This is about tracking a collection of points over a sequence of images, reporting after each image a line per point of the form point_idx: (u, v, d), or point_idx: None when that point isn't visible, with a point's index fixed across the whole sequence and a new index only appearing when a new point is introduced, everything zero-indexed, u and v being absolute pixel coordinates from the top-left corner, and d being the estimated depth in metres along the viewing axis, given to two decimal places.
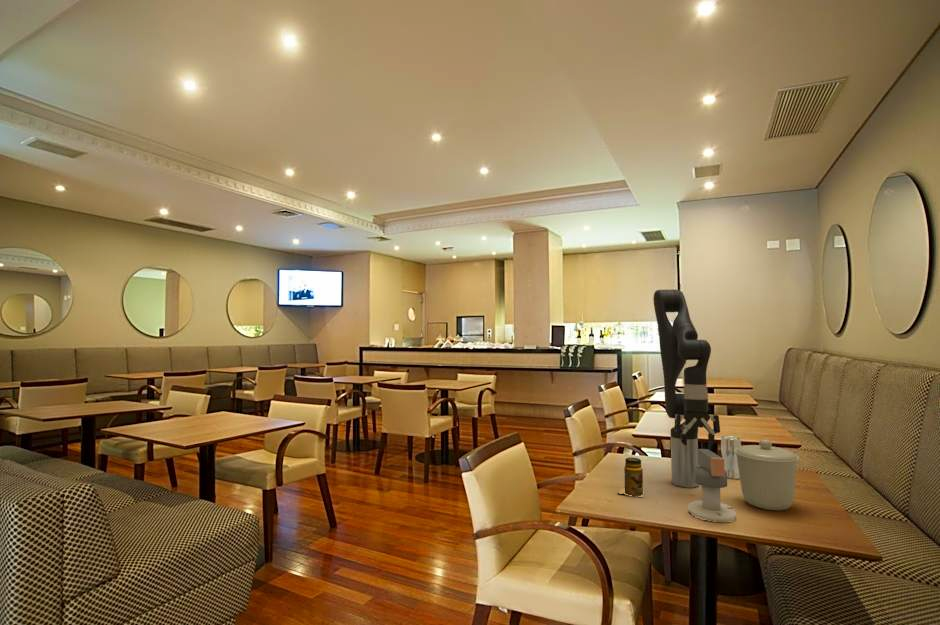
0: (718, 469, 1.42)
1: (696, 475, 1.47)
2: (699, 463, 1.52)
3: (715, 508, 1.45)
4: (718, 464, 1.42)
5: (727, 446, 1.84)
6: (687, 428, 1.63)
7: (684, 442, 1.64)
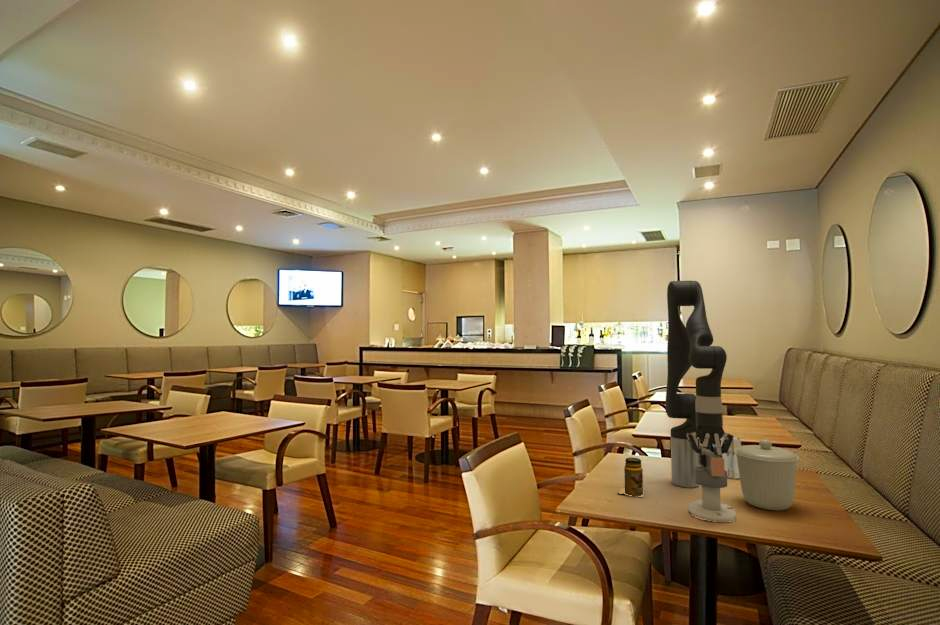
0: (718, 469, 1.42)
1: (696, 475, 1.47)
2: (699, 463, 1.52)
3: (715, 508, 1.45)
4: (718, 464, 1.42)
5: None
6: (704, 447, 1.47)
7: (703, 463, 1.47)
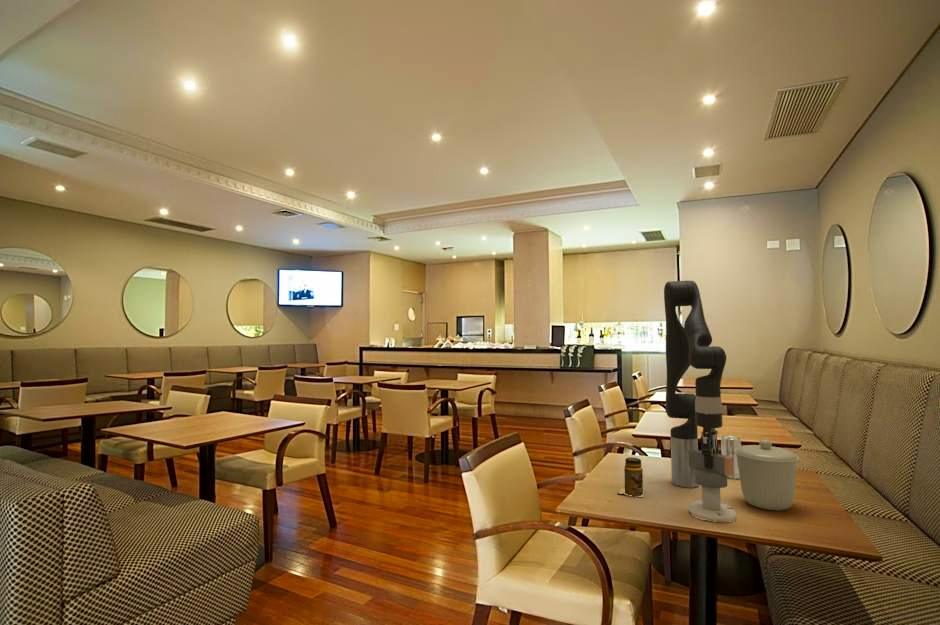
0: (731, 468, 1.43)
1: (705, 478, 1.44)
2: (693, 465, 1.50)
3: (715, 508, 1.45)
4: (731, 463, 1.43)
5: (727, 446, 1.84)
6: (713, 448, 1.45)
7: (711, 465, 1.45)
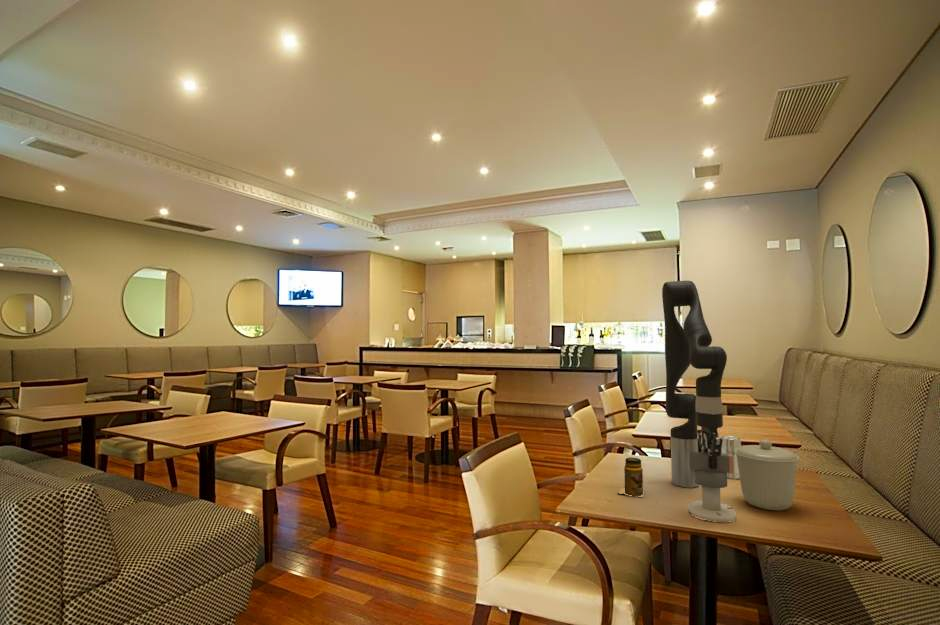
0: None
1: (715, 479, 1.43)
2: (694, 467, 1.48)
3: (715, 508, 1.45)
4: None
5: (727, 446, 1.84)
6: None
7: (716, 465, 1.45)
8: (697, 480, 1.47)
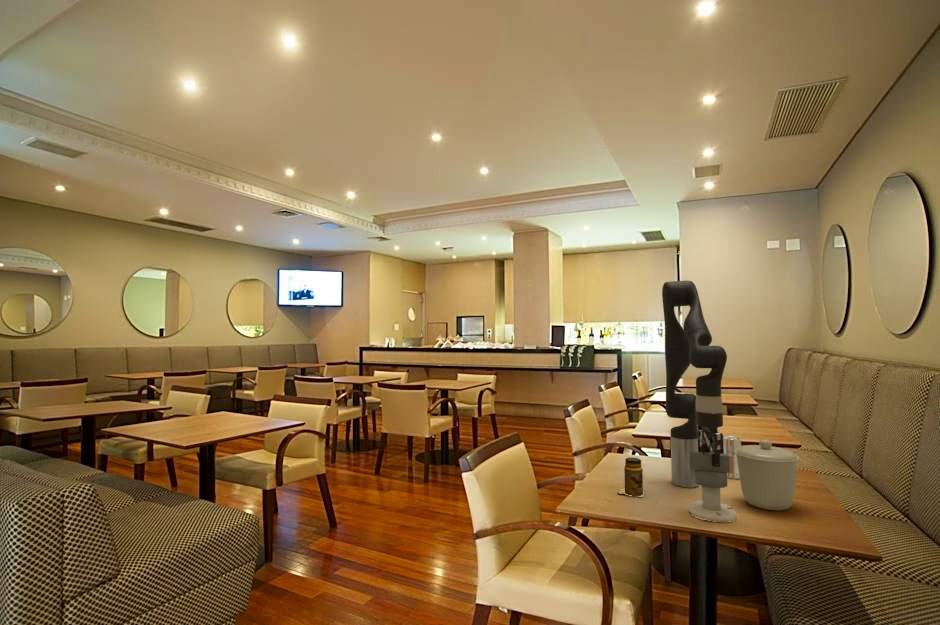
0: None
1: (715, 479, 1.43)
2: (694, 467, 1.48)
3: (715, 508, 1.45)
4: None
5: (727, 446, 1.84)
6: (719, 446, 1.44)
7: (719, 463, 1.43)
8: (697, 480, 1.47)
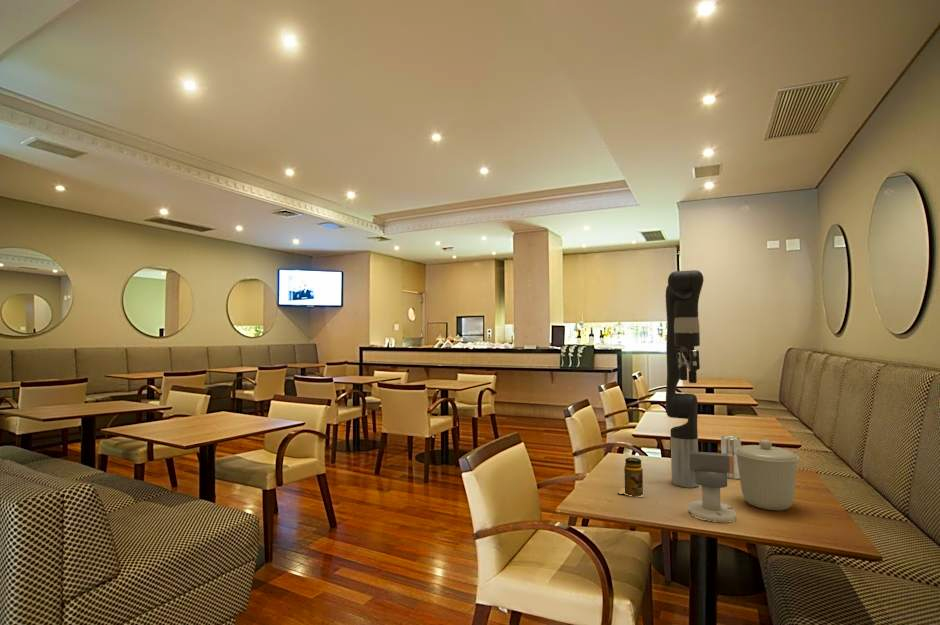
0: None
1: (715, 479, 1.43)
2: (694, 467, 1.48)
3: (715, 508, 1.45)
4: None
5: (727, 446, 1.84)
6: None
7: (696, 379, 1.51)
8: (697, 480, 1.47)
